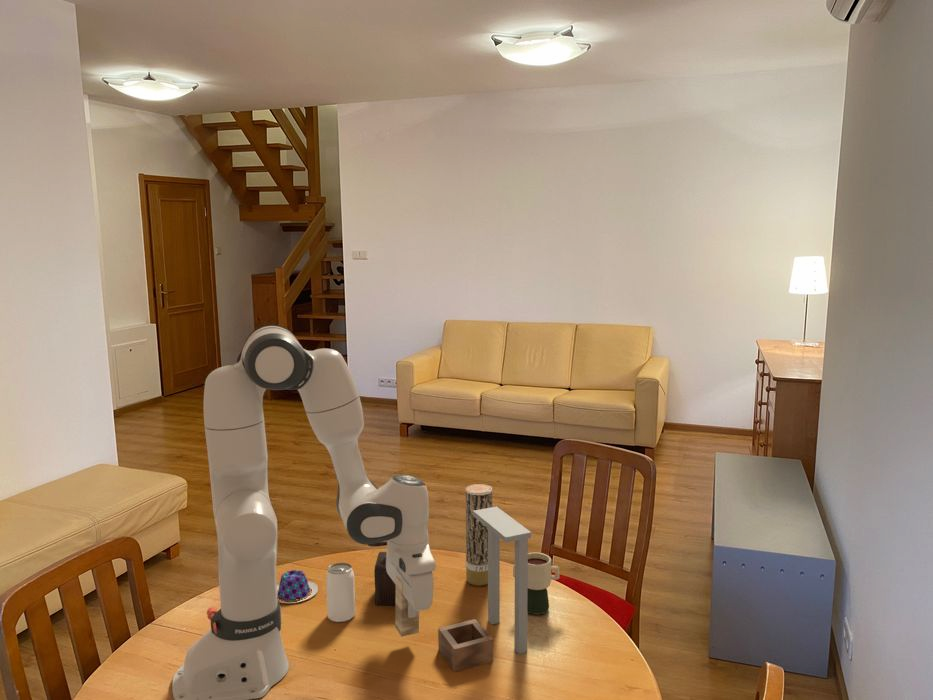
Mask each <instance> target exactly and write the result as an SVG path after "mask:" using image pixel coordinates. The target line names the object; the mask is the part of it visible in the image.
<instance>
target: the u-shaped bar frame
mask: <svg viewBox="0 0 933 700" xmlns="http://www.w3.org/2000/svg"><path fill="white" fill-rule="evenodd" d="M473 516H474V517H475V518H476V519H477V520H479V521H480V522H481V523H482V524H483V525H485V526H486V527H487V528H488V584H487V621H488V622H489V624H491V625H497V624H499V623H500V622H501V621H500V611H501V610H500V601H501V599H500V598H501V596H500V595H501V593H500V586H501V583H500V582H501V581H500V579H501V578H500V577H501V576H500V575H501V574H500V572H501V569H500V568H501V567H500V566H501V564H500V562H501V560H500V558H501V557H500V555H501V554H500V552H501V551H500V548H501V547H500V545H501V543H500V542H501V541H503V542H504V543H505V544H506V543H513V542H514V565H515V578H514V637H513V639H514V643H513V644H514V645H513V646H514V647H513V648H514V651H515V652H516V653H517V654H518V655H522V654H526V653H528V612H527V591H528V551H529V550H528V549H529V547H528V546H529V544H528V543H529V539H531V538H532V532H531V531H530V530H529V529H528V528H526V527H525V526H524V525H522V524H521V523H519V522H518V521H517V520H515V519H514V518H512V517H511V516H510V515H509V514H507V513H506V512H505V511H503V509H500V508H499V507H498V506H492V507H491V508H486V509H480V510H474V511H473Z"/></svg>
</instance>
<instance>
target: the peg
mask: <svg viewBox="0 0 933 700" xmlns="http://www.w3.org/2000/svg"><path fill="white" fill-rule="evenodd" d="M402 589H403V584H402V582H401V581H400V580H399V578H398V577H397V576H396V606H395V614H394V615H395V624H394V626H395V627H394V628H395V629H396V631H397V632H398V634H399V636H400V637H406V636H411V635H415V634H419V633H420V632H419V631H420V611H416V617H413V618H409V617H408V615H407V614H406V612H407V611H406V608H407V607H408V604H409V603H408V601H407V599H406V598H405V597H404V595H403V593H402Z"/></svg>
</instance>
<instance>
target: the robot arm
mask: <svg viewBox="0 0 933 700" xmlns="http://www.w3.org/2000/svg"><path fill="white" fill-rule="evenodd" d="M354 379H355V378H353V375H352V373H351V370H350V368H349V366H348V364H347V362H346V361H345V359H344V357H343V355H342V354H341V353H340V352H339V351H338V350H336V349H332V348H326V347H325V348H324V347H323V348H317V349H314V350H307V349H305V348H303V346H302V344H301V343H300V342H299V340H298V339H297V338H296V336H295V335H294V333H292V332H291V331H290V329H289V328H286V327H284V326H283V325H279V324H270V323H269V324H265V325H261V326H259V327H257V328H255V329H254V330H252V331H251V332H250V334H249V335H248V337H247V338H246V340H245V342H244V344H243V346H242V349H241V351H240V353H239V354H238V357H237V359H236V363H234V364H231V365H229V364H228V365H224V366H221V367H220V366H219V367H218V368H215V369H214V370H212V371H211V372H210V373H209V374H208V375H207V377H206V378H205V382H204V391H203V423H204V431H205V432H204V433H205V440H206V450H207V461H208V469H209V470H208V471H209V477H210V478H209V479H210V489H211V501H212V509H213V517H214V522H215V530H216V536H217V556H218V557H217V559H218V585H219V586H218V587H219V602H220V605H219V606H220V608H219V610H218V609H217V608H216V607H215V606H210V607H209V608H208V609H207V610H206V615H207V616H206V617H207V619H208V620H209V621H210V629H209V630H208V631H206V633H204V634H203V635H202V636H201V637H200V638H199V639H197V640H196V641H195V642H194V643H193V644H191V645H190V647H189V648H188V650H187V652H186V655H185V658H184V662H183V663H184V664H183V665H181V666H180V667H179V668H178V669H177V670H176V672H175V673H174V675H173V677H172V684H171V691H172V697H173V700H253V699H254V700H255V699H260V698H263V697H265V695H266V694H267V693H268V692H269V691H270V689H271V688H272V687H273V686H274V685H276V684H277V683H278V682H280V681H281V680H282V679H283V678H284V677H285V676H286V675H287V673H288V672H289V668H290V662H289V660H288V657H287V654H286V652H285V649H284V648H285V647H284V644H283V640H282V633H281V630H282V610H281V609H282V608H281V604H280V602H279V601H278V599H279V598H278V592H277V585H278V583H277V582H278V581H277V579H278V578H277V556H278V519H277V516H276V513H275V510H274V508H273V506H272V502H271V498H270V495H269V484H268V483H269V482H268V481H269V480H268V459H269V456H268V446H267V445H268V443H267V436H266V434H267V433H266V426H265V425H266V424H265V415H264V405H263V404H264V403H263V401H264V394H265V392H266V390H269V391H271V390H272V391H284V390H290V391H291V390H293V391H294V390H297V391H298V393H299V396H300V399H301V400H302V404H303V408H304V411H305V414H306V417H307V419H308V422H309V424H310V425H309V426H310V427H311V430H312V431H313V432H314V435H315V437H316V438H317V440H318V442H320V443H321V444H322V445H324V447H325V448H326V450H327V451H328V453H329V456H330V459H331V463H332V467H333V469H334V473H335V476H336V480H337V484H338V485H337V494H336V501H335V503H336V510H337V513H338V515H339V516H340V518H341V519H342V521H343V522H342V523H343V525H344V527H345V529H346V531H347V533H348V535H349V537H350V538H351V539H352V540H353V541H355V542H356V543H358V544H360V545H367V546H368V545H370V544H375V543H380V542H387V545H386V552H387V554H386V571H387V573H388V575H389V576H390V578H391V579H392V580H393V582H394V583H395V584H396V576H397V577H398V578H399V580H400V581H401V582H402V584H403V589H402V593H403V595H404V597H405V598H406V599H407V601H408V603H409V604H408V607H407V608H406V611H407V612H406V614H407V615H408V617H409V618H413V617H416V611H419V612H421V611H424V610H425V611H426V610H429V609H430V608H431V607H432V604H433V598H434V574H433V572H435V571H436V561H435V559H434V556H433V554H432V552H431V548H430V544H429V537H430V536H429V531H428V521H429V519H430V502H429V492H428V487H427V485H426V484H425V482H424V481H423V480H421V479H420V478H418V477H415V476H413V475H409V474H397V475H396V474H395V475H393V476H392V477H391V478H390V479H389V480H388V481H387V482H385V484H383V485H382V486H380V487H379V488H378V486H377V485H376V484H375V483H374V482H373V481H372V480H371V479H370V478H369V476H368V475H367V473H366V469H365V466H364V461H363V459H362V455H361V451H360V447H359V441H358V440H359V436H360V435H361V434H362V432H363V429H364V428H365V421H364V410H363V405H362V401H361V398H360V394H359V391H358V388H357V385H356V382H355V380H354ZM277 598H278V599H277Z"/></svg>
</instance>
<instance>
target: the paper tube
mask: <svg viewBox="0 0 933 700" xmlns="http://www.w3.org/2000/svg"><path fill="white" fill-rule="evenodd" d="M491 507H493V486H490V485H488V484H484V483H483V484H482V483H479V484H478V483H476V484H469V485H468V486H466V487H465V569H466V570H465V571H466V572H465V573H466V575H465V579H466V581H467V582H468V583H469V584H470V585H473V586H477V587H480V586H481V587H482V586H486V585H488V528H487V527H486V526H485V525H483V524H482V523H481V522H480V521H479V520H477V519H476V518H475V517H474V516H473V511H474V510H480V509H486V508H491Z"/></svg>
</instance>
